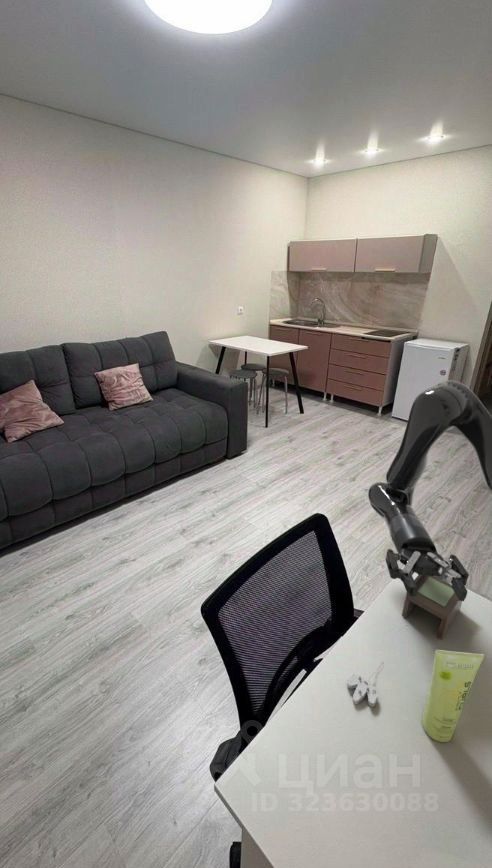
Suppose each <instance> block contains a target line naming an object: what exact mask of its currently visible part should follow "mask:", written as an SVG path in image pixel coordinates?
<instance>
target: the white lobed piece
mask: <svg viewBox="0 0 492 868" xmlns="http://www.w3.org/2000/svg"><path fill="white" fill-rule="evenodd" d="M383 664H384V662H383V661H382V662H381V663H380V664H379V666H378V667H377V669H376V671H375V672H373V673H372V674H371V675H370V677H369V678H368V679H366V678H365V677H363V676H361V675H359V674H352V675H351V676H350V677H349V678H348V679H347V680H346V686H347V688H348V689H355V690H354V693H353V695H352V702H353V704H354V705H358V704H360V702H361V701H362V700H364V698H365V697H366V696H367V704H368V706H369V707H375V705H376V702H377V700H378V694H379V693H378V690H377V688H376V687H375V686H374V685H373V684H372V682H370V680H371V678H372V677H373V675H374V674H376V673H377V672H378V671H379V669H380V668H381V666H382V665H383Z"/></svg>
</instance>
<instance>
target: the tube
mask: <svg viewBox="0 0 492 868" xmlns="http://www.w3.org/2000/svg"><path fill="white" fill-rule="evenodd" d="M484 659H485V654H484V653H472V652H461V651H452V650H443V649H442V650H441V649H435V651H434V659H433V668H432V673H431V679H430V684H429V689H428V693H427V697H426V701H425V706H424V710H423V713H422V718H421V724H422V728H423V729H424V731H425V733H426V734H427V735H428V736H429V737H430V738H431V739H433V740H434V741H436V742H440V743H447V742H449V741H451V739H452V737H453V734H454V732H455V729H456V726H457V724H458V721H459V718H460V717H461V713H462V710H463V708H464V704H465V703H466V700H467V697H468V696H469V692H470V690H471V688H472V685H473V683H474V680H475V678H476V676H477V674H478V671H479V669H480V666H481V664H482V662H483V661H484Z"/></svg>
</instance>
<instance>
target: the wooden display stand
mask: <svg viewBox="0 0 492 868" xmlns="http://www.w3.org/2000/svg"><path fill="white" fill-rule="evenodd" d="M414 581H415V583H416V586H417V594H416V596H411V594H410V593H408V592H407V591H406V594H405V598H404V602H403V608H402V612H401V616H402V617H403V618H407V617H408V615H409V614H410V613H411V611H412V610H413V609H414V607H415V606H418V607H420V608H421V609H423V610H425V611H427V612H428V613H431V614H432V615H434V616H436V617H438V618H439V619H441V620H440V624H439V628H438V630H437V634H436V638H437V639H438V640H442V639H443V638H444V637H445V635H446V633H447V631H448V629H449V628H450V627H451V625H452V623H453V622H454V620H455V618H456V617H457V616H458V613H459V612H460V609H461V607H462V603H463V601H459V600H458V598H457V596H456V594H455V592H454V591H453V589H452V585H450V584H449V583H447V582H446V581H441V580H440V579H438V578H437V577H435V576H429V575H418V574H417V576H416V577H415V578H414Z"/></svg>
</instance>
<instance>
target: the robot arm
mask: <svg viewBox="0 0 492 868" xmlns="http://www.w3.org/2000/svg"><path fill="white" fill-rule="evenodd" d="M454 428H456V429H457V431H459V432H460V434H461V435H462V436H463V437H464V438H465V440H466V441H467V442H468V443H469V445H470V446H471V448H472V450H473V452H474V453H475V456H476V459H477V462H478V466H479V469H480V473H481V475H482V479H483V481H484V484H485V485H486V488H487V490H488V491H489V493H490V494H491V495H492V414H491V413H490V412H489V411H488V409H487V408H486V407H485V406H484V404H483V403H482V401H481V400H480V398H479V397H478V396H477V395H476V394H475V393H474V391H472V389H470V388H469V387H468V386H467V385H465V384H464V383H462V382H460V381H458V380H453V379H449V380H444V381H442V382H438V383H437V384H434V385H433V386H431V387H429V388H427V389H425V390H423V391H422V392H421V393H419V394H418V395H417V396H416V397H415V398H414V400H413V403H412V405H411V407H410V411H409V415H408V419H407V423H406V427H405V431H404V433H403V437H402V440H401V443H400V446H399V448H398V450H397V452H396V454H395V456H394V457H393V460H392V461H391V463H390V466H389V467H388V470H387V471H386V474H385V481H386V482H379V481H378V482H375V483H373V484H372V485H370V487H369V488H368V493H367V497H368V502H369V505H370V507H371V508H372V509H373V511H374V512H375V513H376V514H377V515H378V516H379V517H380V518H381V519H382V520H383V521H384V522H385V524H386V526H387V528H388V531H389V535H390V539H391V541H392V543H393V545H394V548H395V550H396V552H394V551H395V550H393V549H391V548H388V549H387V550H386V555H385V563H386V567H387V570H388V574H389V577H390V578H391V579H392V580H397V579H399V580H400V581H401V582H402V583H403V587H404V589H405V591H406V593H407V592H408V593H410V594H411V596H416V594H417V586H416V583H415V581H414V580H415V578H414V576H413V575H414V574H417V576H418V575H429V576H435V577H437V578H438V579H440V580H441V581H446V582H447V583H449V584H450V585H452V589H453V591H454V592H455V594H456V596H457V598H458V600H459V601H462V602H465V600H466V599H467V595H468V590H467V588H466V586H467V582H468V579H469V576H470V573H469V572H468V571H467V569H466V568H465V566H464V565H463V564H462V563H461V561H460V560H459V558H458V557H457V555H455V554H450V555H449V557H443V556H442V555H441V554H440V553H439V552H438V550H437V548H436V544H435V543H434V541H433V539H432V538H431V536H430V533H428V530H427V529H426V527H425V526H424V524H423V523H422V521H420V519H419V517H418V515H417V513H416V512H415V510H414V508H413V507H412V506H413V501H414V493H415V489H416V486H417V484H418V483H419V481H420V480H421V477H422V475H423V474H424V472H425V471H426V469H427V466H428V459H429V452H430V450H431V448H432V447H433V445H434V444H435V443H436V442H437V441H438V440H439V439H440V438H441V437H442V435H444V434H445V433H446V432H448V431H450V430H452V429H454ZM398 561H399V562H400V563H401V564H402V565H403V566H404V567H403V568H400V567H399V564H398ZM441 569H442V570H441ZM440 570H441V572H440Z"/></svg>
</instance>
